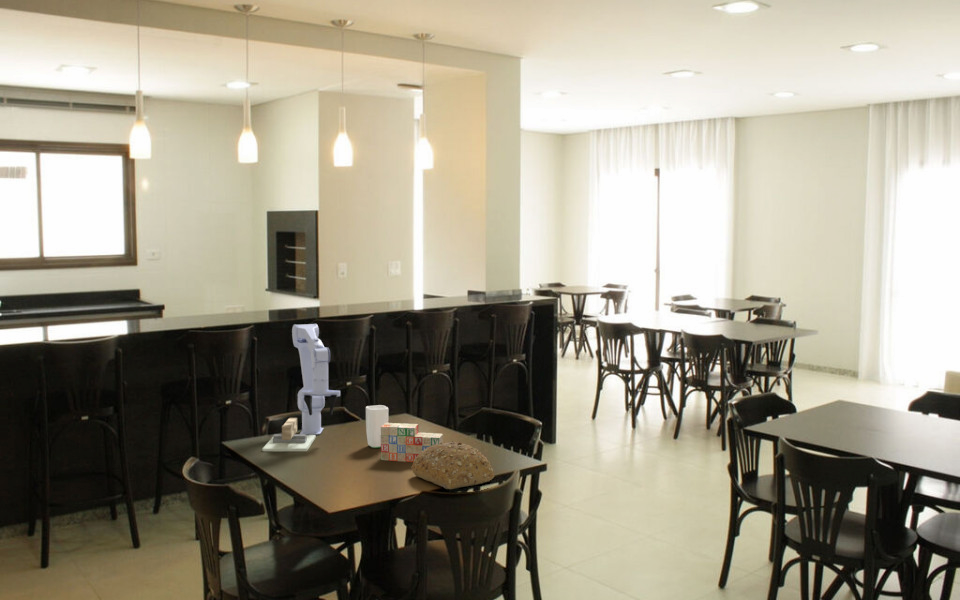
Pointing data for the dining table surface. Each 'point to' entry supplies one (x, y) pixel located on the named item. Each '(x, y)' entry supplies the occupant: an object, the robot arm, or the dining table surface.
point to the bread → (452, 465)
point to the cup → (375, 423)
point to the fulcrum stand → (289, 443)
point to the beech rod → (289, 429)
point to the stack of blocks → (405, 441)
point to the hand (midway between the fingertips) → (320, 414)
